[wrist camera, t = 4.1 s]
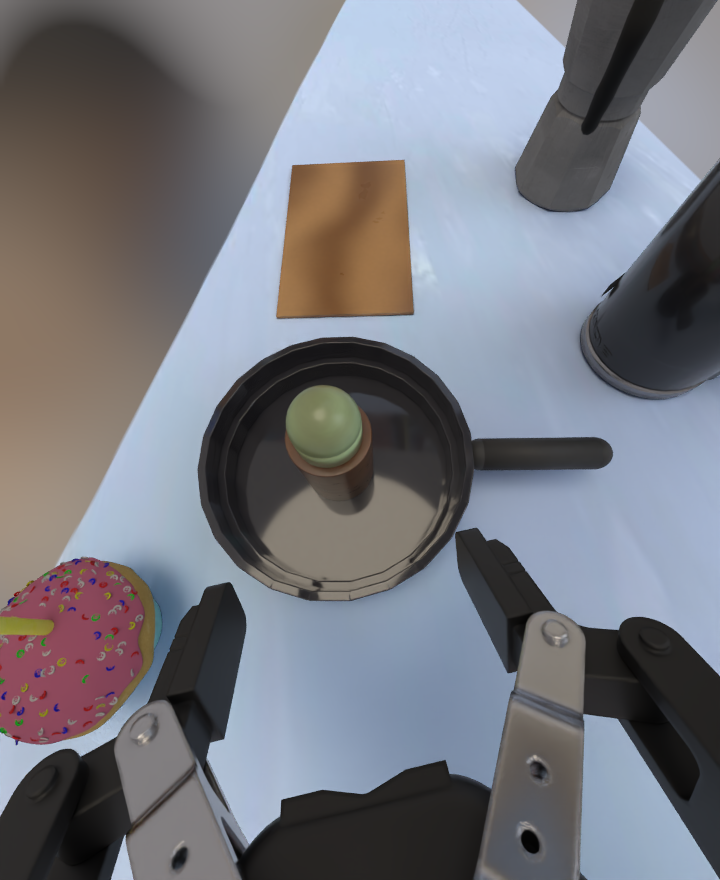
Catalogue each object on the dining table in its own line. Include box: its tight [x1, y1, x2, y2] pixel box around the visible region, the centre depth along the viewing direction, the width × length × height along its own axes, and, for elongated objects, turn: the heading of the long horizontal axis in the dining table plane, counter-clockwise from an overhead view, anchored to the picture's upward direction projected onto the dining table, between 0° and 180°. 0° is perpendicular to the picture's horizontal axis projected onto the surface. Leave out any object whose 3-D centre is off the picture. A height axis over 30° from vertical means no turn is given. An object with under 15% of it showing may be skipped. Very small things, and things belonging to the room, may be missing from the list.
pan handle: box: [472, 437, 613, 470], centre depth 22 cm, size 9×2×2 cm, turn 90°
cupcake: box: [0, 557, 162, 745], centre depth 18 cm, size 9×8×12 cm
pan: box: [198, 337, 474, 601], centre depth 24 cm, size 17×17×4 cm
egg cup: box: [285, 385, 373, 501], centre depth 21 cm, size 5×5×10 cm
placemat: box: [276, 160, 414, 318], centre depth 35 cm, size 12×20×1 cm, turn 0°
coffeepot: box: [515, 0, 717, 212], centre depth 27 cm, size 15×9×18 cm, turn 155°
